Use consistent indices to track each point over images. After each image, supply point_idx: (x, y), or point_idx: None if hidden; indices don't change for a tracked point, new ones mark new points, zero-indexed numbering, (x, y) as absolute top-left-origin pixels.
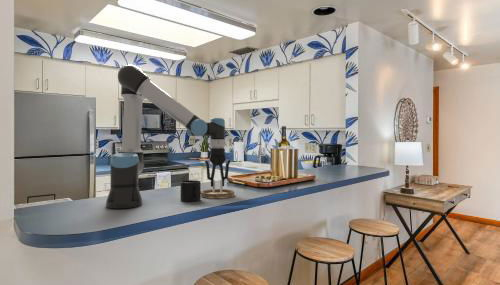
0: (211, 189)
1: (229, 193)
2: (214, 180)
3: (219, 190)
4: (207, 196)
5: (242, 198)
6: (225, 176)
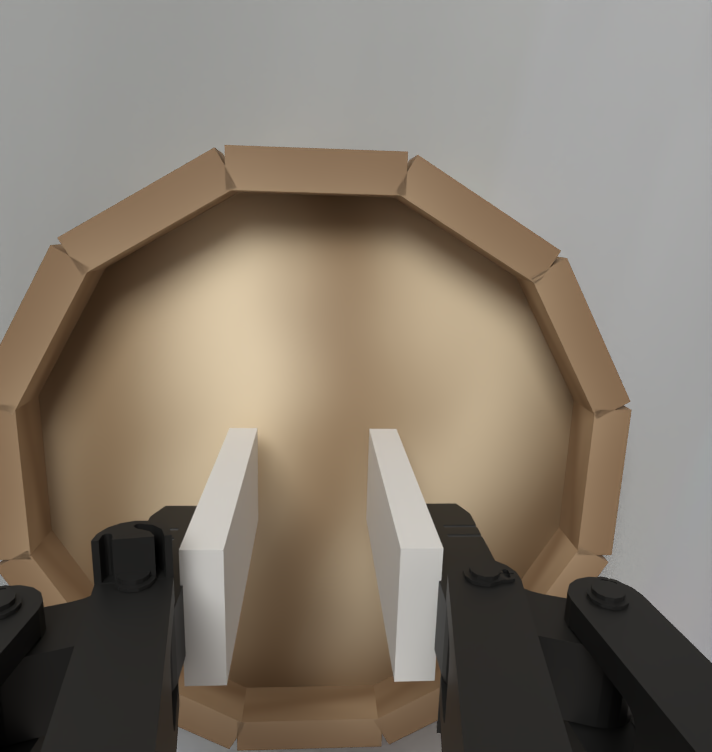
0: (232, 181)
1: None
2: (220, 629)
3: (409, 203)
4: None
5: None
6: (577, 736)
